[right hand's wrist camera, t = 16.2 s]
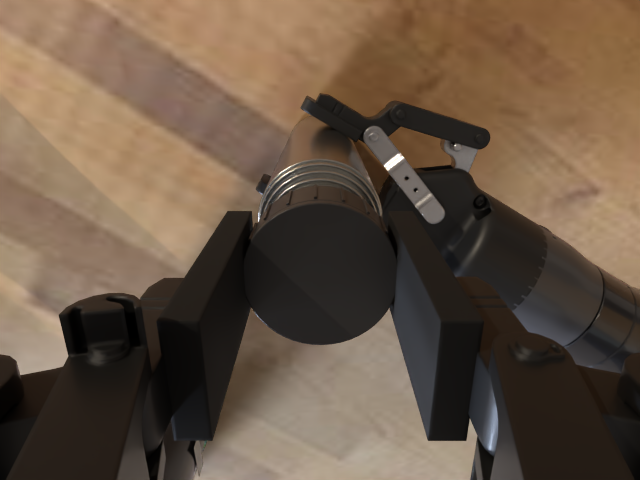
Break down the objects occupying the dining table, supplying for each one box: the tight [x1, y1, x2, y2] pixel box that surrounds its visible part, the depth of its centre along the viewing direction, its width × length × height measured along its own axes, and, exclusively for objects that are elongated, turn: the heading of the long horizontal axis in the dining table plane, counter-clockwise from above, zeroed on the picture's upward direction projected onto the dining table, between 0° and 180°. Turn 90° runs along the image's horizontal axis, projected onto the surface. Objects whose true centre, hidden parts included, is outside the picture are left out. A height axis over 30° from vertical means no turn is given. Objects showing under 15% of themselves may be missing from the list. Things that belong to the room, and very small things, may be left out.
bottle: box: [258, 116, 382, 221], centre depth 23 cm, size 5×5×22 cm
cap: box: [243, 184, 397, 345], centre depth 13 cm, size 4×4×2 cm
